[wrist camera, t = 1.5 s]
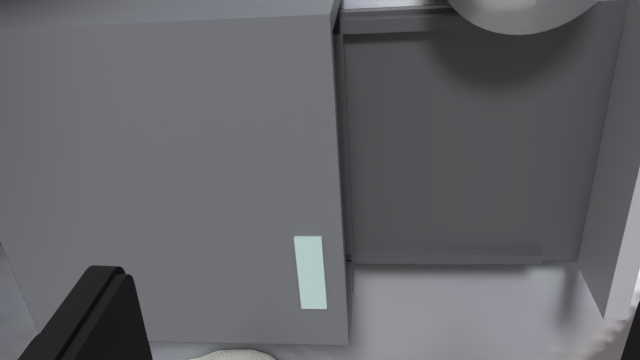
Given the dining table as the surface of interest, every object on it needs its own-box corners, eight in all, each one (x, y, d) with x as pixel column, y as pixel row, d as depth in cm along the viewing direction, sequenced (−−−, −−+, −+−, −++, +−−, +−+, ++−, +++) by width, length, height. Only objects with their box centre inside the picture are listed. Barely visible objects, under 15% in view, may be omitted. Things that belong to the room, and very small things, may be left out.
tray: (257, 8, 26) (234, 38, 22) (649, -10, 24) (705, 19, 20) (287, 256, 33) (273, 314, 29) (593, 257, 31) (626, 319, 27)
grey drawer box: (14, -7, 28) (-91, 34, 22) (341, -24, 26) (329, 15, 20) (98, 256, 36) (39, 341, 30) (354, 257, 34) (348, 348, 28)
